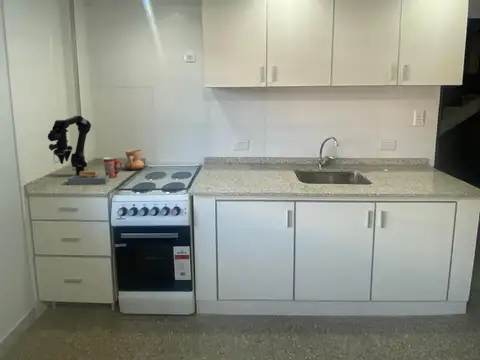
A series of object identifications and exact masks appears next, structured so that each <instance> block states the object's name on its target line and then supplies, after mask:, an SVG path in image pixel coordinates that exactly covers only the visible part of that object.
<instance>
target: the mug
mask: <svg viewBox="0 0 480 360" xmlns="http://www.w3.org/2000/svg"><path fill="white" fill-rule="evenodd" d="M102 159H103V166H104V172H105V175H109V179H115V178H117V177H118V174H119V172H120V171H121V169H122V166H123V164H122V163H123V162H122V161H121V160H117V156H108V157H107V156H106V157H103V158H102ZM118 163H119V164H120V167H119V168H117V167H118V166H117V164H118ZM117 169H118V170H117Z"/></svg>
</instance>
